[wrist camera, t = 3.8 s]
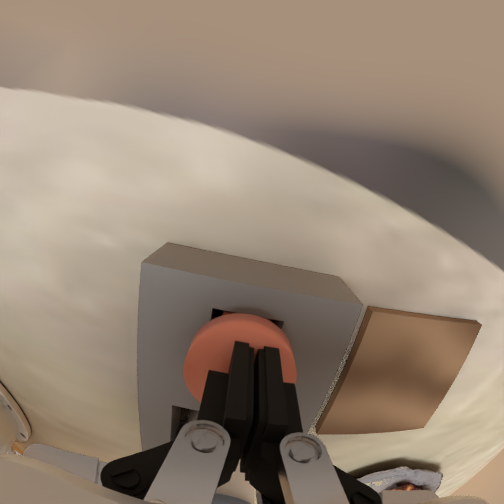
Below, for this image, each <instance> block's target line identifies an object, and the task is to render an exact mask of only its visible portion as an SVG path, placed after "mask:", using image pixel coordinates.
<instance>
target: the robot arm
mask: <svg viewBox="0 0 504 504" xmlns="http://www.w3.org/2000/svg"><path fill="white" fill-rule="evenodd" d="M30 436H31V429H30V426H29V423H28V421H27V419H26V417H25V416H24V414H23V412H22V411H21V409H20V408H19V406H18V405H17V403H16V402H15V401H14V399H13V398H12V396H11V395H10V394H9V393H8V392H7V390H6V389H5V388H4V387H3V385H2V384H1V383H0V504H212V502H213V499H214V496H215V493H216V490H217V488H218V487H220V486H222V485H224V484H225V483H227V482H229V481H230V479H231V476H232V473H233V472H235V471H236V468H237V466H238V463H239V460H240V473H245V481H249V484H250V485H252V486H253V487H254V488H255V489H256V498H257V503H258V504H489V503H487V502H486V501H485V500H484V499H482V498H479V497H474V496H448V497H442V498H439V497H438V496H437V495H436V494H435V493H434V492H432V491H429V490H382V491H381V492H376V491H375V490H374V489H372V488H371V487H369V486H367V485H365V484H364V483H362V482H360V481H359V480H357V479H355V478H354V477H352V476H350V475H349V474H347V473H345V472H344V471H342V470H341V469H339V468H337V467H336V466H334V465H333V464H332V461H331V459H330V457H329V454H328V452H327V449H326V447H325V445H324V444H323V442H322V441H321V440H319V439H318V438H317V437H315V436H313V435H311V434H307V433H303V429H302V422H301V416H300V411H299V405H298V399H297V393H296V387H295V384H294V383H287V382H283V375H282V367H281V359H280V351H279V348H274V347H268V346H264V349H258V351H257V355H256V358H255V362H254V348H252V347H249V343H245V342H239V341H235V343H234V348H233V352H232V357H231V362H230V366H229V371H228V373H223V372H218V371H213V370H209V371H208V375H207V379H206V383H205V387H204V392H203V396H202V400H201V404H200V409H199V413H198V417H197V420H195V421H191V422H189V423H187V424H185V425H184V426H183V427H182V429H181V430H180V432H179V434H178V436H177V438H176V439H175V440H173V441H170V442H168V443H165V444H162V445H160V446H157V447H154V448H151V449H148V450H145V451H142V452H139V453H136V454H133V455H130V456H127V457H123V458H120V459H117V460H114V461H111V462H109V463H106V462H101V461H99V460H98V458H94V457H89V456H85V455H81V454H77V453H73V452H69V451H65V450H62V449H58V448H55V447H51V446H48V445H45V444H39V443H36V444H31V445H30V446H28V447H27V448H26V449H25V451H24V452H23V455H22V456H21V455H16V452H15V450H14V448H13V447H12V445H13V443H14V442H15V440H18V441H27V440H28V439H29V437H30ZM7 452H8V453H7Z"/></svg>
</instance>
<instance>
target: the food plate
mask: <svg viewBox="0 0 504 504" xmlns="http://www.w3.org/2000/svg"><path fill="white" fill-rule="evenodd" d="M392 477H394V478H392ZM442 477H443V474H442V473H441V472H440V473H439V472H434V471H430V470H426V469H425V470H421V469H419V468H418V469H415V470H412V469H410V468H409V467H406V466H404V467H398V468H395V469H390V470H386V471H380V472H375V473H372V474H368V475H365V476H364V477H362V478H360V479H359V478H358V479H357V480H359V481H360V482H362V483H364V484H365V483H371V484H369V485H370V486H369V487H371V488H372V489H374V490H375V491H376V492H381V491H382V490H429V491H432V492H434V493H435V492H436V490H437V489H438V488H439V486H440V483H441V480H442ZM395 478H396V479H395ZM403 478H405V479H403ZM383 479H384V480H383ZM375 481H378V482H379V481H383V484H382V485H380V486H375V484H372V482H375ZM385 481H386V482H385ZM388 482H389V483H388ZM386 483H388V484H386ZM365 485H366V484H365ZM377 485H378V484H377ZM367 486H368V485H367Z"/></svg>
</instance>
